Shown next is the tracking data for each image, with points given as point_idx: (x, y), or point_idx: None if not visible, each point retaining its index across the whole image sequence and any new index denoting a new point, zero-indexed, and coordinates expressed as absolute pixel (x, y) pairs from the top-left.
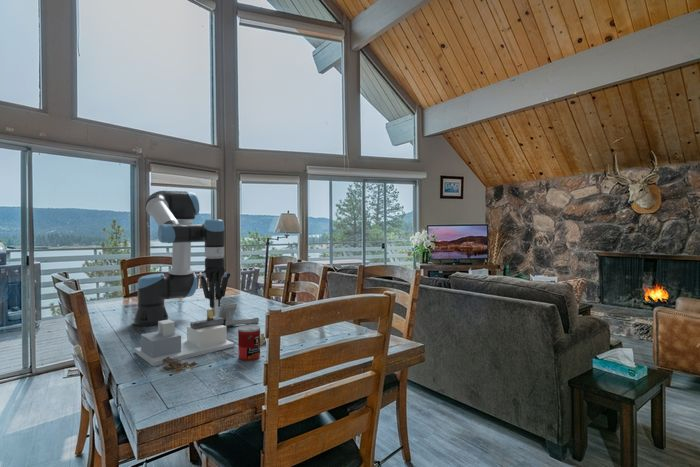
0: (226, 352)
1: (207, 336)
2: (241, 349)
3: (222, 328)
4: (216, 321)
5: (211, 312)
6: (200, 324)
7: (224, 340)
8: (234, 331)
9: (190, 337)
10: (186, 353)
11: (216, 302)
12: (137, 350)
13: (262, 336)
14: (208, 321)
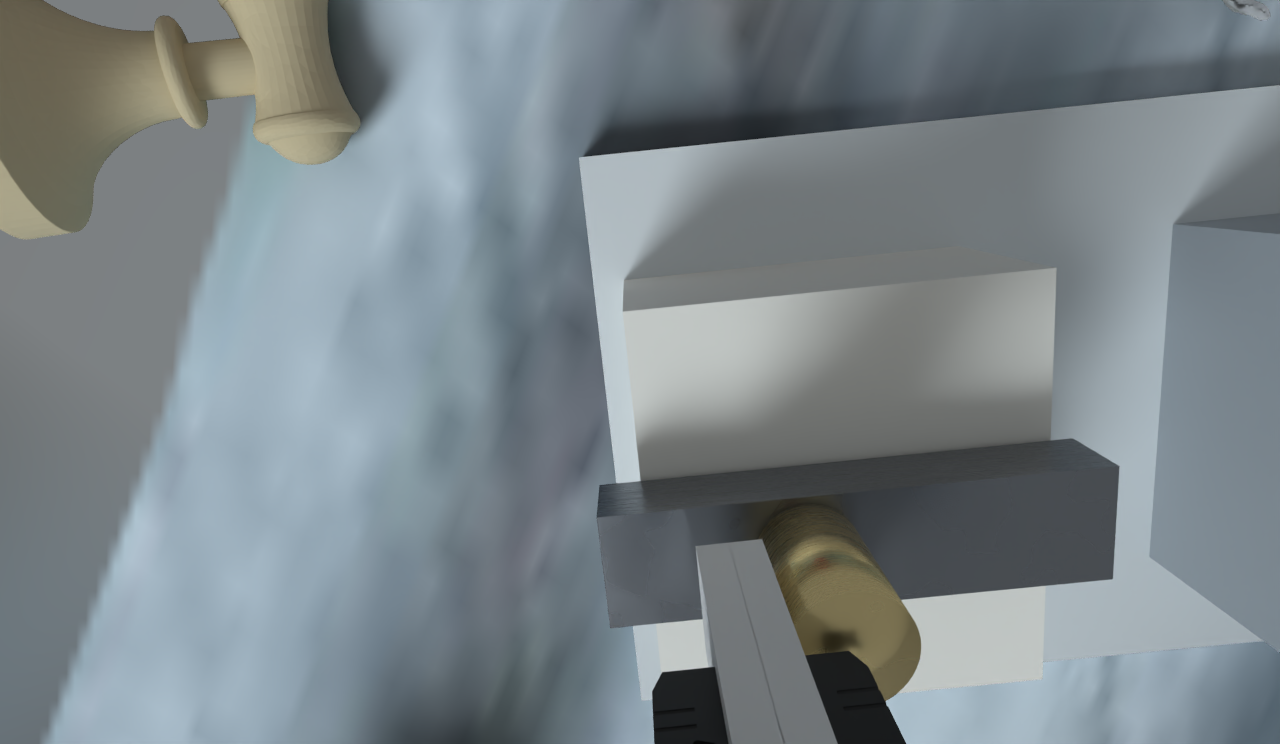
0: (731, 9)
1: (903, 267)
2: None
3: (689, 303)
4: (722, 493)
5: (847, 571)
6: (990, 466)
7: (652, 280)
8: (365, 700)
9: None
10: (1162, 119)
11: (774, 705)
12: None
13: (196, 51)
14: (865, 489)
